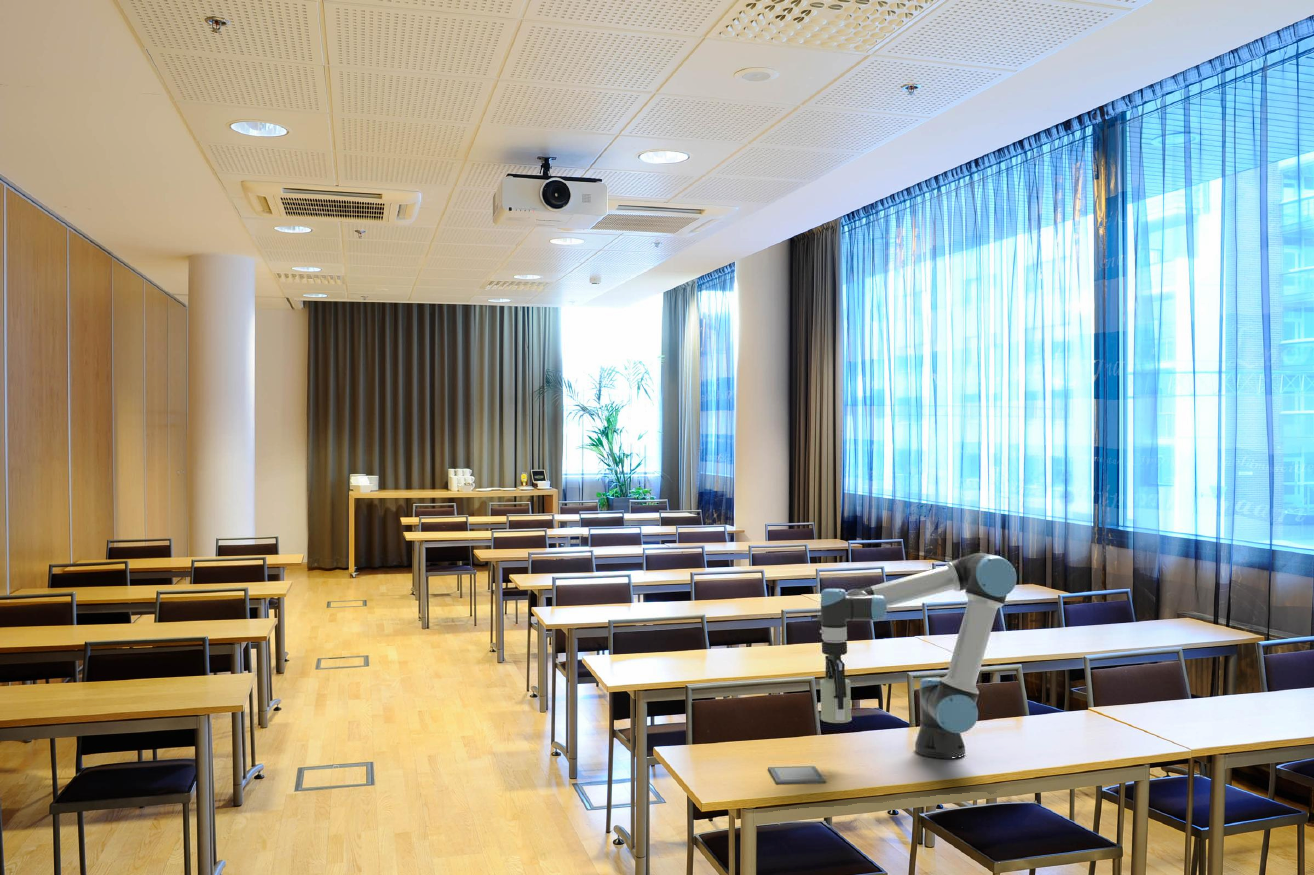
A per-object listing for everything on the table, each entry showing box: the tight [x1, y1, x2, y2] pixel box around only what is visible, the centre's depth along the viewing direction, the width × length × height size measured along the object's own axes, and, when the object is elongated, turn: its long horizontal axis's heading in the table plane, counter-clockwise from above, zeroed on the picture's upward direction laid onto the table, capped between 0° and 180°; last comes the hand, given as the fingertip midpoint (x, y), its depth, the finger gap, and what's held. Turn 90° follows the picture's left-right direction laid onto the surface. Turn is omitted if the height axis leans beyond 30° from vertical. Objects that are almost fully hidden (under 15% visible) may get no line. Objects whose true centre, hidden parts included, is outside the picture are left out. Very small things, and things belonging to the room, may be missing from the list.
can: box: [819, 677, 853, 724], centre depth 284 cm, size 9×9×12 cm
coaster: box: [767, 765, 827, 785], centre depth 273 cm, size 14×14×1 cm
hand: (836, 715), depth 284 cm, fingers closed on can, 9 cm apart
